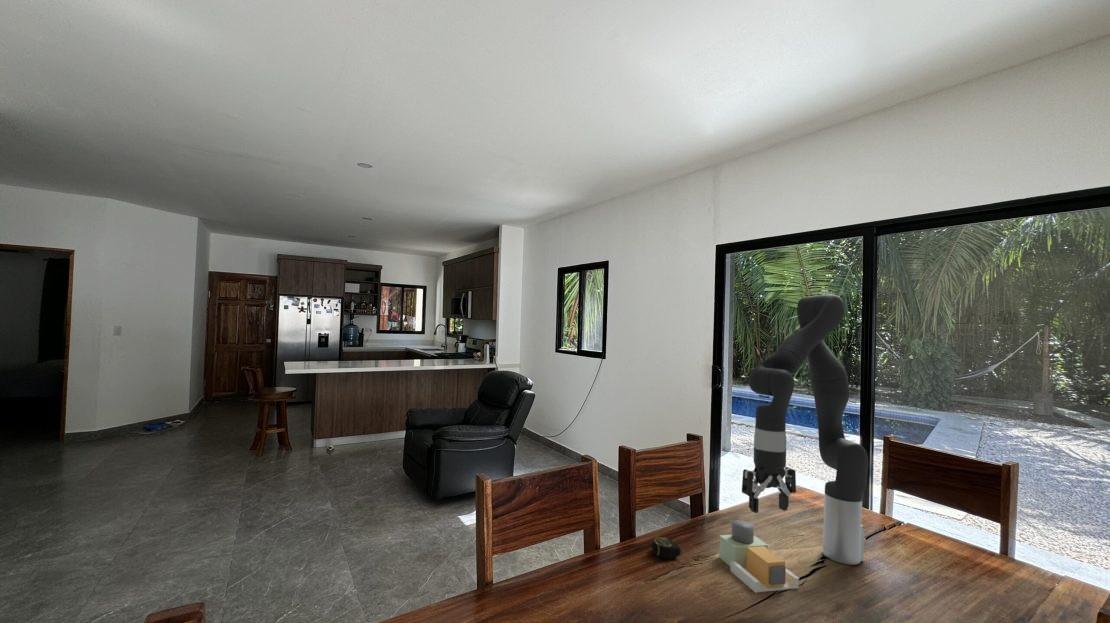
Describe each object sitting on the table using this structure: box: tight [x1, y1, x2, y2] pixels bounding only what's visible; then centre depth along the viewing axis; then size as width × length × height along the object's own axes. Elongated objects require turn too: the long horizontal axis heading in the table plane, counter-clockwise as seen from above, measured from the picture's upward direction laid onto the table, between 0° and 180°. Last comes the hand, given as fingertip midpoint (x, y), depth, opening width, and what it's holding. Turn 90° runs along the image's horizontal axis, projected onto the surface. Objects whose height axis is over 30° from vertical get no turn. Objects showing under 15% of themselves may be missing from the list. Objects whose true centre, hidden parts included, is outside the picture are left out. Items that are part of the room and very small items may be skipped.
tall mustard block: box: [746, 546, 787, 588], centre depth 118 cm, size 5×9×6 cm, turn 14°
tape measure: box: [651, 536, 682, 559], centre depth 130 cm, size 7×7×4 cm
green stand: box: [718, 519, 800, 594], centre depth 123 cm, size 12×17×10 cm
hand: (768, 510), depth 119 cm, fingers open, 8 cm apart
